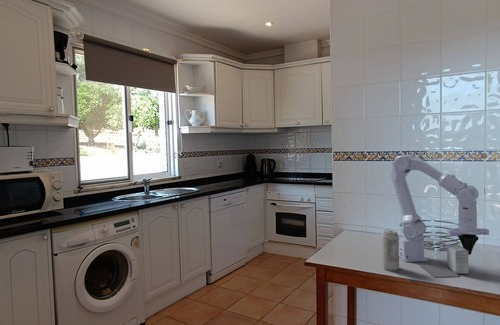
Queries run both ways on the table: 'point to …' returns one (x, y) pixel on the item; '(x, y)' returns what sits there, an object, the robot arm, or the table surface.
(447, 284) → the table surface
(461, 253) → the medicine box
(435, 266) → the mat
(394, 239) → the energy drink can
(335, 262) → the table surface
